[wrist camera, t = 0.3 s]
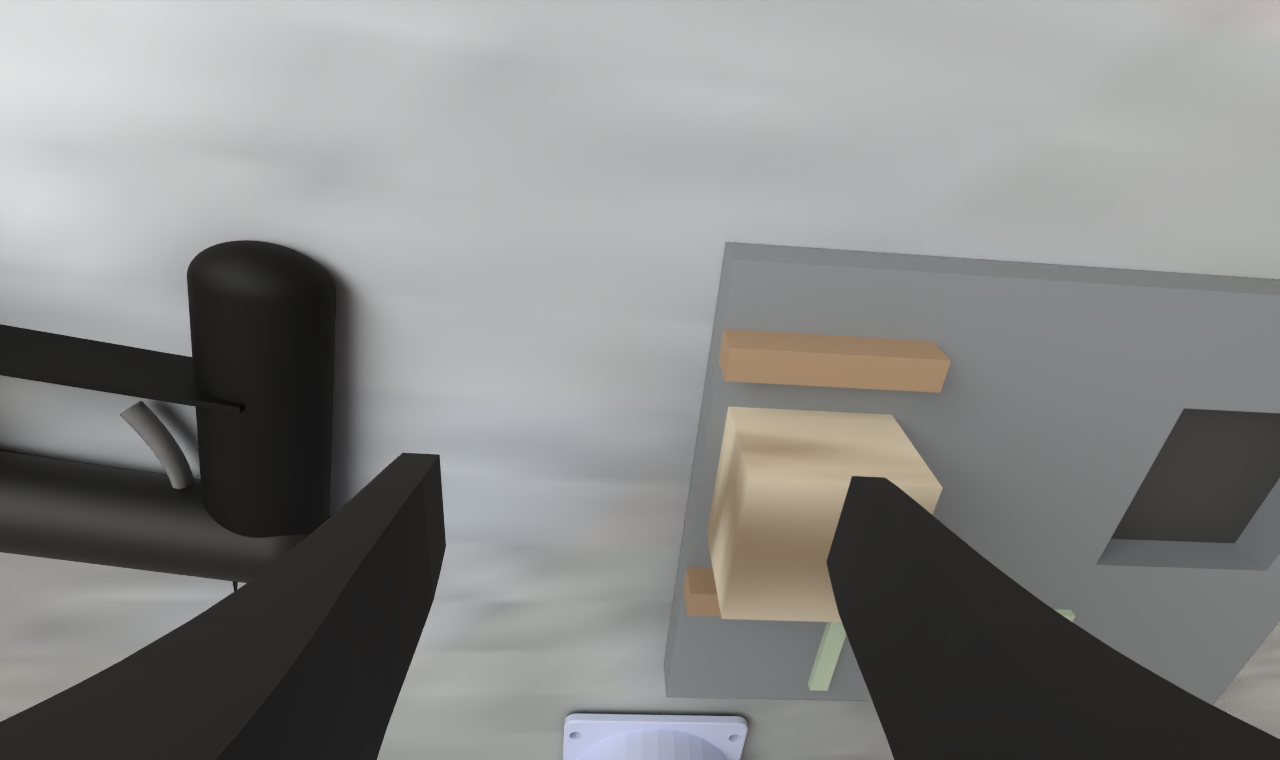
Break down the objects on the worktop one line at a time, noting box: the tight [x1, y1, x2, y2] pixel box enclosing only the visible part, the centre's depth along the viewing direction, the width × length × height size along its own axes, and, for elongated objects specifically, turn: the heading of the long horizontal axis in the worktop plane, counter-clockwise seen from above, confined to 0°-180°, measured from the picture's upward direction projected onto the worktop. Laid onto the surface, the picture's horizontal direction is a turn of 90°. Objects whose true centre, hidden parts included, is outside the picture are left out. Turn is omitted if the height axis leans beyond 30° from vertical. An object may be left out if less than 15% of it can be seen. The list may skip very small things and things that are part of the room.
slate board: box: [664, 242, 1280, 705], centre depth 23 cm, size 18×23×3 cm
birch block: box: [707, 407, 942, 622], centre depth 19 cm, size 5×5×4 cm
